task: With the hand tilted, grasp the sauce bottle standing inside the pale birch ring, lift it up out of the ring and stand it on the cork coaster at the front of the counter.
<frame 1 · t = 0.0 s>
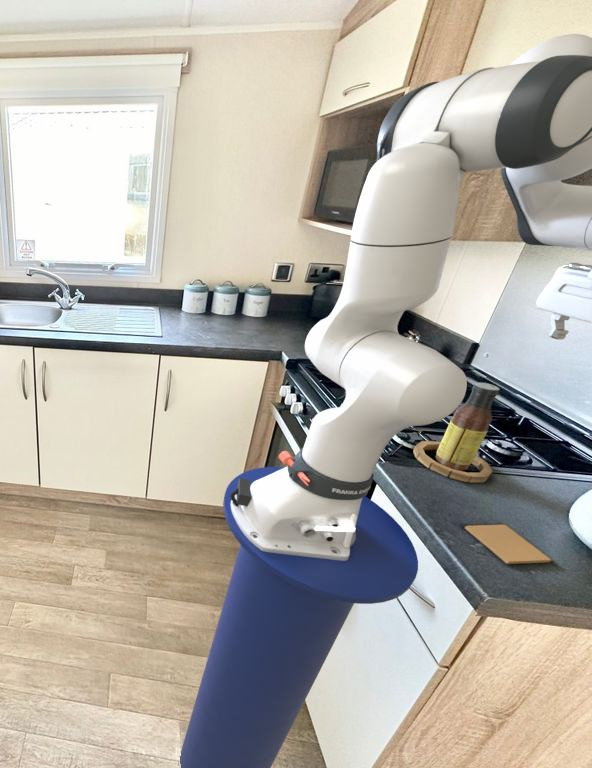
hand: (583, 347, 76), 31 cm above the countertop, tool pointing down, fingers open, 8 cm apart
cork coaster: (505, 544, 73), on the countertop
sauce bottle: (449, 463, 94), resting in birch ring
birch ring: (449, 463, 94), on the countertop
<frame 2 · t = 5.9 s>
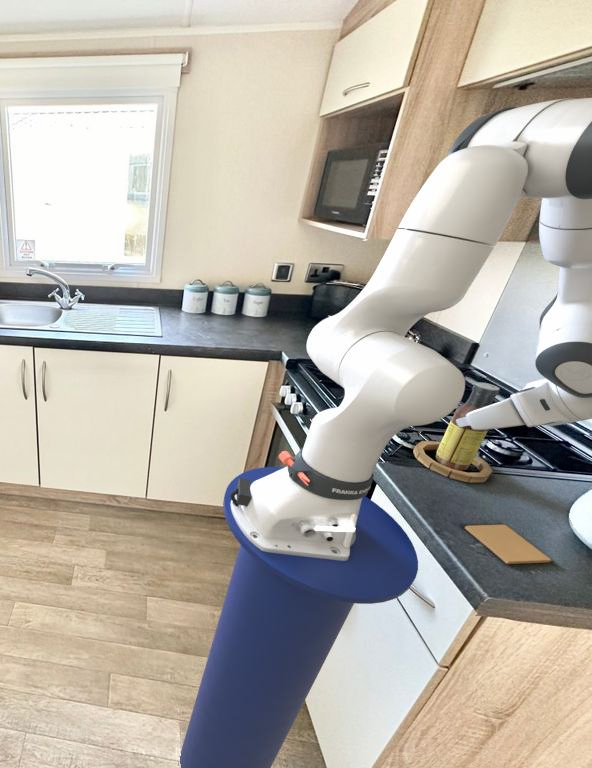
hand: (468, 419, 90), 11 cm above the countertop, tool tilted 45°, fingers closed on sauce bottle, 6 cm apart
sauce bottle: (449, 463, 94), resting in birch ring, touching gripper
everything else where it was.
when the fingers open (12 cm above the countertop, at t = 16.4 s): sauce bottle stays where it is, resting on cork coaster.
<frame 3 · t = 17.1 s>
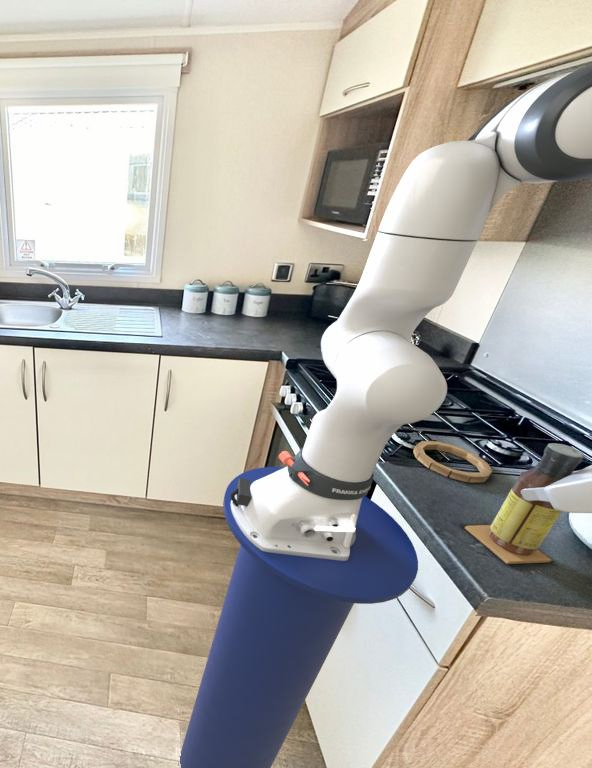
hand: (539, 487, 68), 13 cm above the countertop, tool tilted 45°, fingers open, 8 cm apart
sauce bottle: (507, 543, 73), resting on cork coaster
everything else where it was.
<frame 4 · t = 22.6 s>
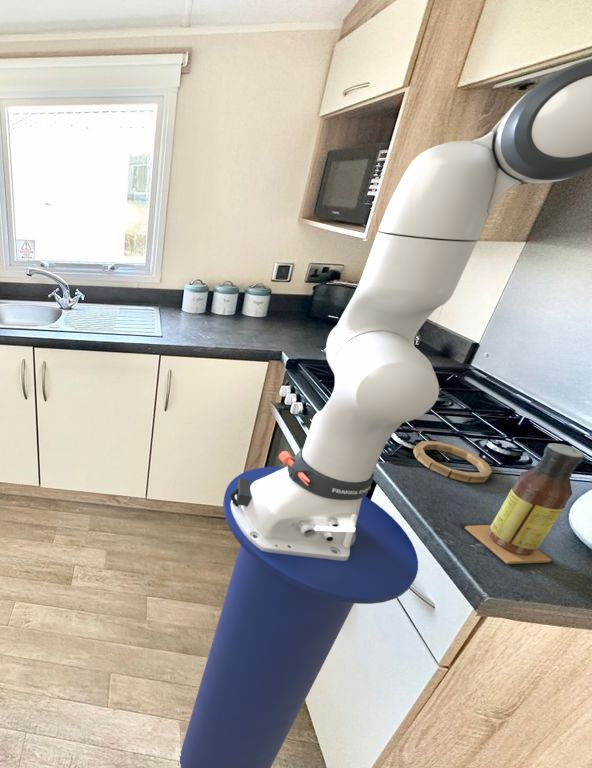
nothing on the countertop moved.
at the end: sauce bottle 0.1 cm off-centre on the cork coaster, point 0.4 cm above the cork coaster's base; sauce bottle tilted 0°; birch ring moved 0.0 cm from its start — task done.
